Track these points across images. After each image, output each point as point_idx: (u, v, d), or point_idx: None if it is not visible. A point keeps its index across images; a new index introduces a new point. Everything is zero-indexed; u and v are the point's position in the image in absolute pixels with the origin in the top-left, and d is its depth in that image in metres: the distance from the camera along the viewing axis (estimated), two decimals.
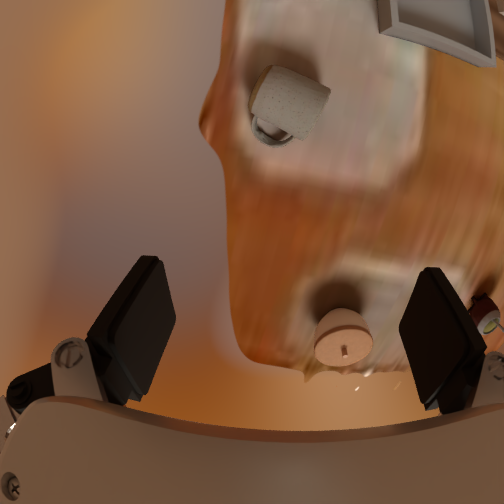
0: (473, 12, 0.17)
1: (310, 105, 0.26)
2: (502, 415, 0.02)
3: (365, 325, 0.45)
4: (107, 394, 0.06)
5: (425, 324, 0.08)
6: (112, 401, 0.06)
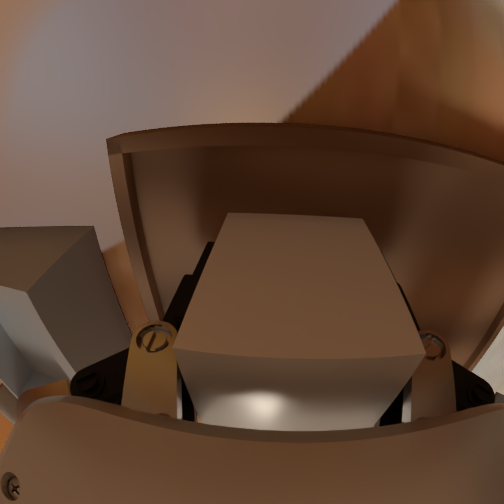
0: None
1: None
2: (502, 415, 0.02)
3: None
4: (181, 385, 0.07)
5: None
6: None
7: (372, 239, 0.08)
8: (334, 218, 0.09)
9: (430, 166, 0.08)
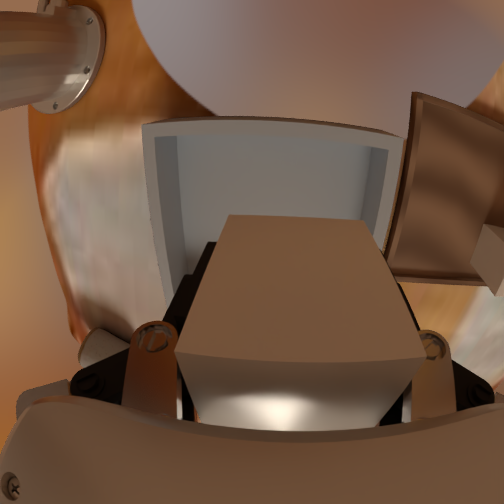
0: None
1: None
2: (502, 415, 0.02)
3: None
4: (181, 385, 0.07)
5: None
6: None
7: (373, 241, 0.08)
8: (335, 220, 0.09)
9: None
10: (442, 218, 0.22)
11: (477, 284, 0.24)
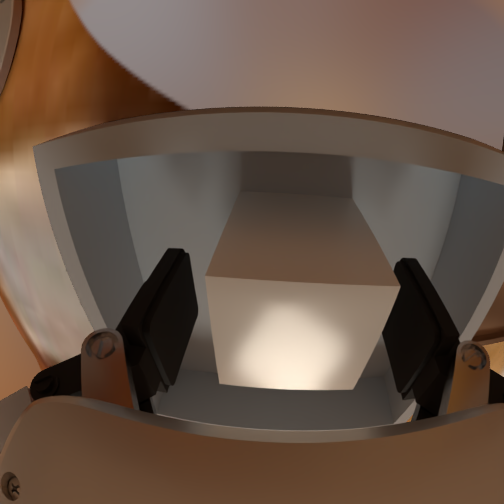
0: None
1: None
2: (502, 415, 0.02)
3: None
4: (136, 388, 0.06)
5: (400, 313, 0.08)
6: (142, 392, 0.07)
7: (359, 213, 0.10)
8: (328, 197, 0.11)
9: None
10: None
11: None
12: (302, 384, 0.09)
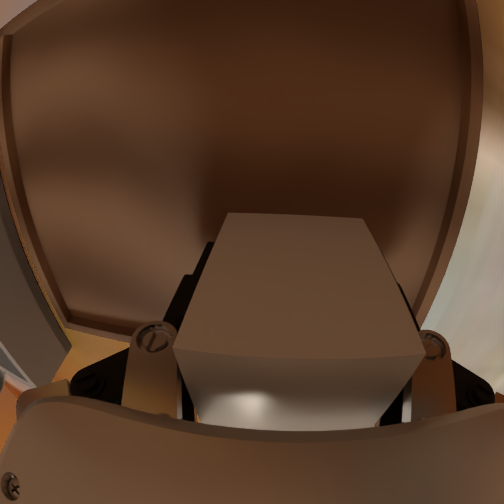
0: None
1: None
2: (502, 415, 0.02)
3: None
4: (181, 385, 0.07)
5: None
6: None
7: None
8: None
9: None
10: (94, 219, 0.11)
11: None
12: None
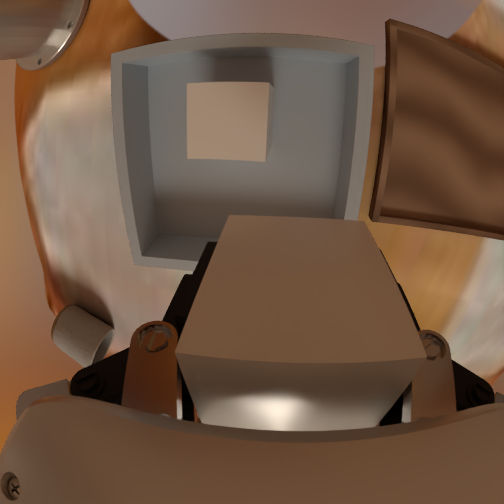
0: (342, 148, 0.20)
1: (82, 361, 0.30)
2: (502, 415, 0.02)
3: None
4: (181, 385, 0.07)
5: None
6: None
7: (273, 88, 0.17)
8: None
9: (490, 69, 0.13)
10: (434, 151, 0.19)
11: (481, 234, 0.21)
12: (233, 153, 0.16)
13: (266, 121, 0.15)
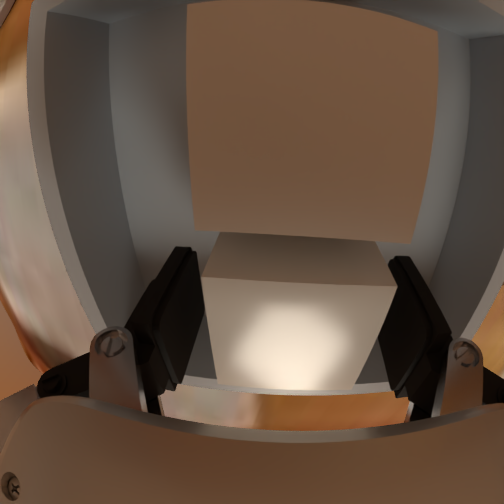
0: (466, 182, 0.09)
1: None
2: (502, 415, 0.02)
3: None
4: (144, 387, 0.06)
5: (393, 311, 0.08)
6: (151, 390, 0.07)
7: None
8: None
9: None
10: None
11: None
12: (332, 221, 0.06)
13: (430, 136, 0.04)
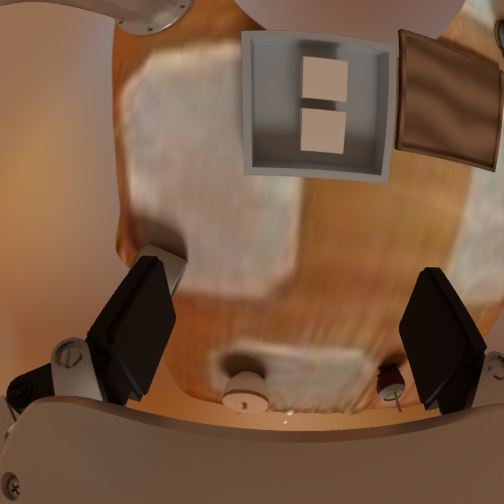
0: (378, 104, 0.29)
1: None
2: (502, 415, 0.02)
3: (261, 389, 0.56)
4: (107, 394, 0.06)
5: (425, 324, 0.08)
6: (112, 401, 0.06)
7: None
8: None
9: (464, 57, 0.23)
10: (431, 108, 0.29)
11: (469, 163, 0.31)
12: (329, 96, 0.25)
13: (346, 81, 0.24)
